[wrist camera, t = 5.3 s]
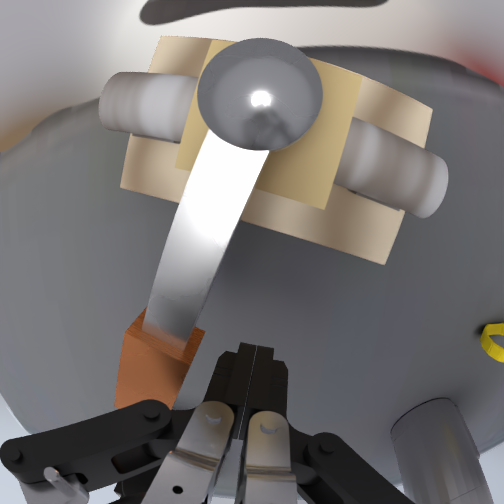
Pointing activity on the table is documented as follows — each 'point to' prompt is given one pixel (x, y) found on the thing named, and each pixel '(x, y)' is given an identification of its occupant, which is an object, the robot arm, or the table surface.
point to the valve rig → (288, 151)
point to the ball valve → (136, 483)
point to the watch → (488, 343)
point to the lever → (216, 202)
